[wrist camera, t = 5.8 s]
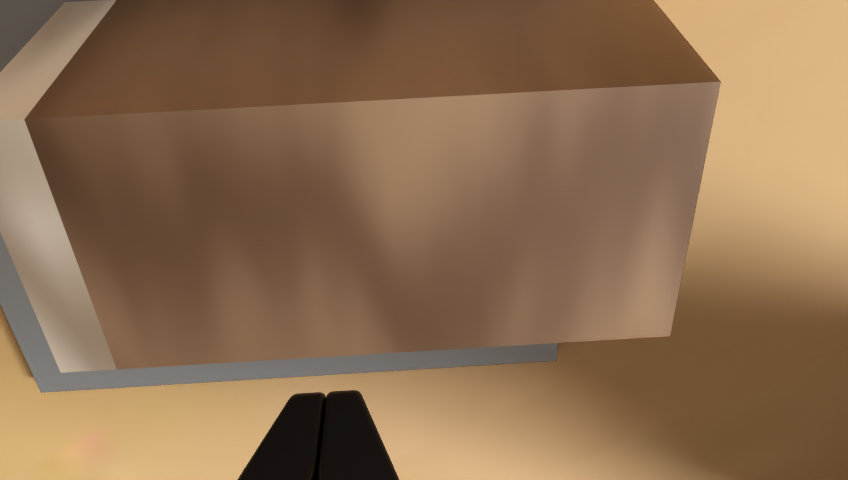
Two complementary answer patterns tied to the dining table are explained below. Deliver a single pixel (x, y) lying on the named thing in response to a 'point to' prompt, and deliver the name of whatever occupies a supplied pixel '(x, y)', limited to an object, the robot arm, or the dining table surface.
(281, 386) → the dining table surface
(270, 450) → the robot arm
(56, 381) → the grey mat
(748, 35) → the dining table surface
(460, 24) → the walnut block
